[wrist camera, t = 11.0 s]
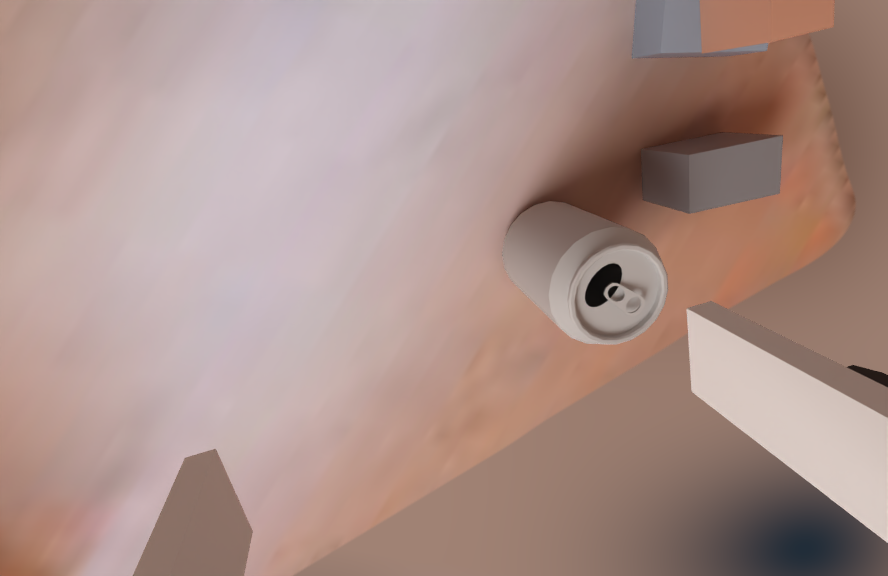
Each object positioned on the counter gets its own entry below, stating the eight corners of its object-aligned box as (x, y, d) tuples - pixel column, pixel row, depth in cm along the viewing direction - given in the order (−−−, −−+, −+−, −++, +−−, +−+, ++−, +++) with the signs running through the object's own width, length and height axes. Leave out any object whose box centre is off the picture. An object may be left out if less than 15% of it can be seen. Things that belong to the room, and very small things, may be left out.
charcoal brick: (642, 200, 42) (689, 213, 36) (640, 149, 40) (689, 155, 35) (721, 182, 42) (779, 193, 37) (722, 132, 41) (782, 135, 36)
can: (534, 180, 39) (613, 207, 28) (606, 230, 42) (705, 273, 31) (480, 263, 41) (534, 321, 29) (553, 307, 43) (629, 375, 32)
